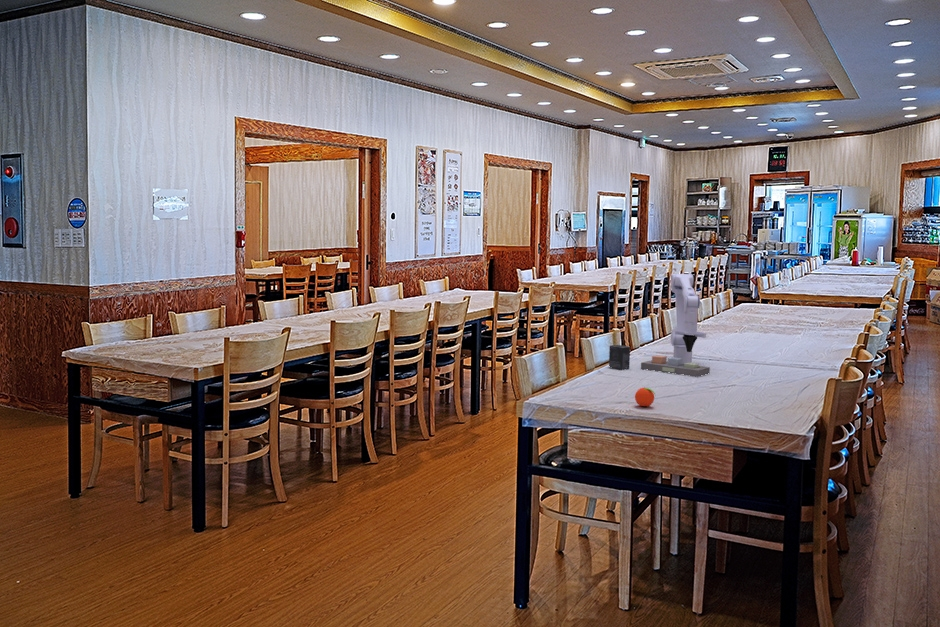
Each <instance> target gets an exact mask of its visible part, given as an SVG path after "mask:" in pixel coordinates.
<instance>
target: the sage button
mask: <svg viewBox="0 0 940 627" xmlns="http://www.w3.org/2000/svg"><path fill="white" fill-rule="evenodd" d="M699 366H700V364H699V363H696V362H692V363H685V364H684V367H686V368H693V369H696V368H699Z"/></svg>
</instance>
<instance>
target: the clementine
mask: <svg viewBox="0 0 940 627" xmlns="http://www.w3.org/2000/svg"><path fill="white" fill-rule="evenodd" d="M655 397H656V393H655V391H654V390H653V389H651V388H649V387H639V389H638V390H637V391H636V392H635V393H634V399H635V402H636V403H637V405H638V406H640V407H642V406H647V407H649V406H651V405H652V404H653V403H654V401H655Z"/></svg>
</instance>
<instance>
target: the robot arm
mask: <svg viewBox="0 0 940 627" xmlns="http://www.w3.org/2000/svg"><path fill="white" fill-rule="evenodd" d="M694 280H695V279H694V275H693V274H692V273H672V274H671V276H670V289H671V292H672V293H674V294H675V295H674V296H675V309H676V310H675V314H676V316H675V317H676V326H675V327H673V329H672V330H671V332H670V345H671V346H673V356H672V357H675V358H683V362H682V364H685V363H693V362H692V361H693V348H694V345H695V343H696V341H697V339H698V338H703V339H705V338H707V333H706V332H701V331H698V316H699V308H700V305H701V297H700V295H697V294H696V291H695V289H694V288H693V286H694Z"/></svg>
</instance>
